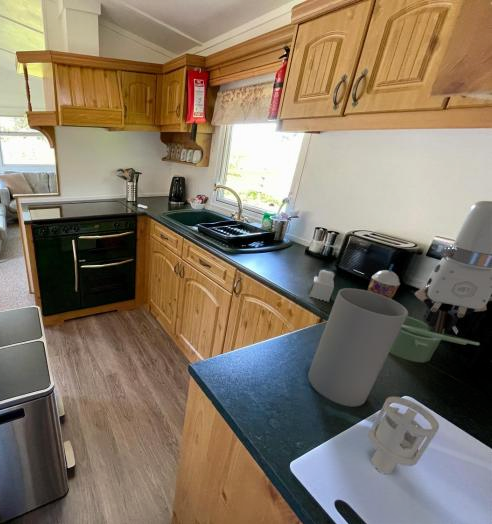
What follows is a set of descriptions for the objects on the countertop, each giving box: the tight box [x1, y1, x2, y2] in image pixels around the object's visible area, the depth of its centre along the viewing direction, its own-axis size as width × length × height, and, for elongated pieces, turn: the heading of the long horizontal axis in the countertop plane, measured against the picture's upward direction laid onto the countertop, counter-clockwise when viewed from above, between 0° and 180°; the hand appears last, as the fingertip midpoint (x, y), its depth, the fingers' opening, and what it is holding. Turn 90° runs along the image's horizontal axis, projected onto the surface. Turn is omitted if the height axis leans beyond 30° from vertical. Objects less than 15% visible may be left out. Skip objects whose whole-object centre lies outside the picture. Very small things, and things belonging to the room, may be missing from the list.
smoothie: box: [366, 263, 401, 300], centre depth 108 cm, size 8×8×20 cm
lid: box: [402, 309, 481, 346], centre depth 72 cm, size 15×15×7 cm
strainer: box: [368, 396, 440, 475], centre depth 52 cm, size 7×7×15 cm
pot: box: [389, 315, 442, 363], centre depth 89 cm, size 14×19×8 cm
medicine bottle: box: [308, 267, 337, 303], centre depth 119 cm, size 7×7×12 cm
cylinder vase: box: [307, 287, 409, 408], centre depth 68 cm, size 12×12×25 cm
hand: (436, 325), depth 72 cm, fingers closed on lid, 2 cm apart
